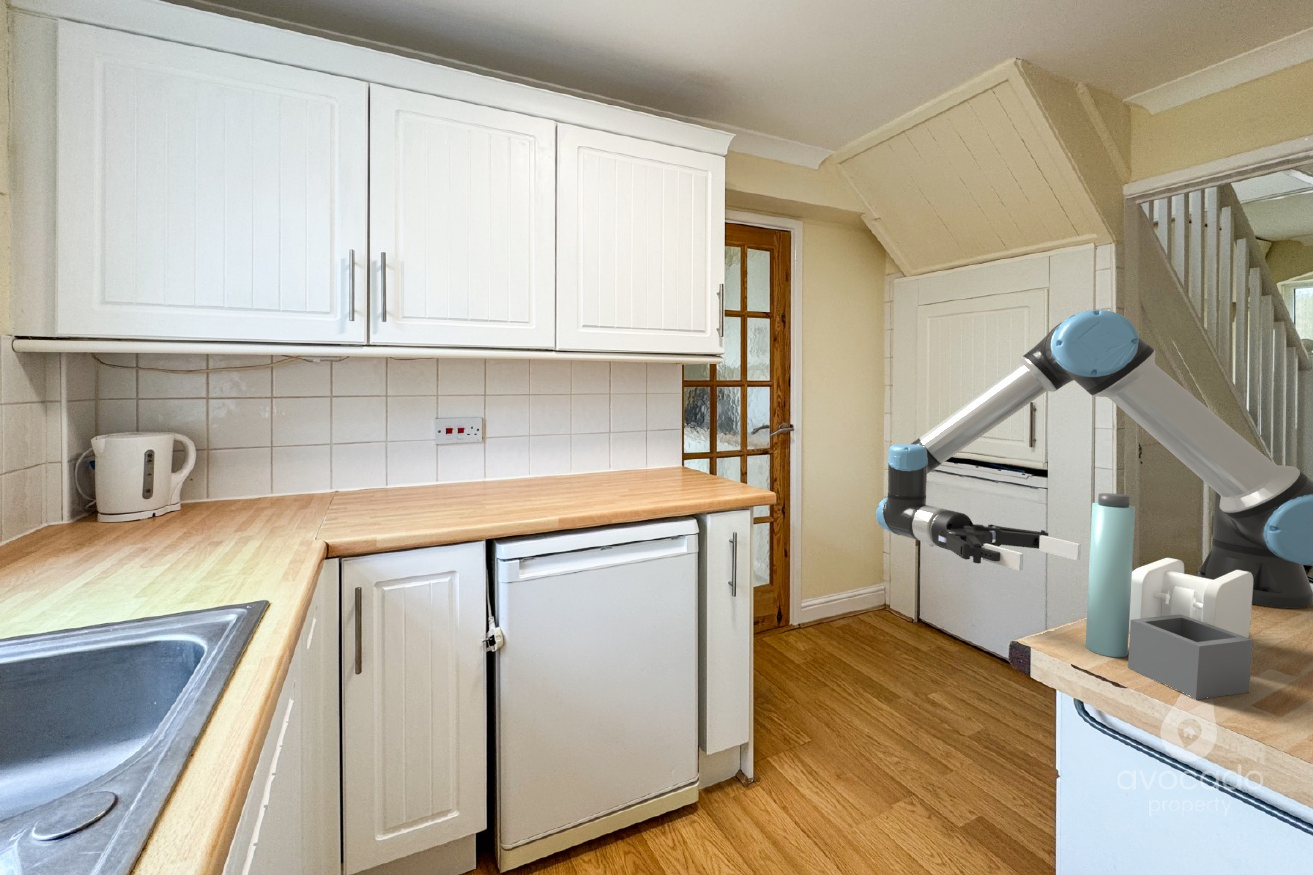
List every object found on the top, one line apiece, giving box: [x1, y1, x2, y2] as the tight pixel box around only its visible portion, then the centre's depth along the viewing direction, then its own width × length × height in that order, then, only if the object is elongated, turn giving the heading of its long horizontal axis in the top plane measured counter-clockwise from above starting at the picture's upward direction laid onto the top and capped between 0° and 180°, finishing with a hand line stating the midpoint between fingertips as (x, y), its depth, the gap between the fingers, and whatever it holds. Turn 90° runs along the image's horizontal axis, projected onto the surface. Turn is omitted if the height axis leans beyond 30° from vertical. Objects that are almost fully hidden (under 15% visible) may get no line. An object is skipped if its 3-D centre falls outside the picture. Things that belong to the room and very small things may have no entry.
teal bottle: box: [1085, 492, 1136, 658], centre depth 86 cm, size 5×5×24 cm
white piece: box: [1129, 557, 1253, 638], centre depth 88 cm, size 15×11×12 cm
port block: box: [1127, 614, 1254, 701], centre depth 77 cm, size 9×9×7 cm
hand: (1051, 557), depth 94 cm, fingers open, 13 cm apart
